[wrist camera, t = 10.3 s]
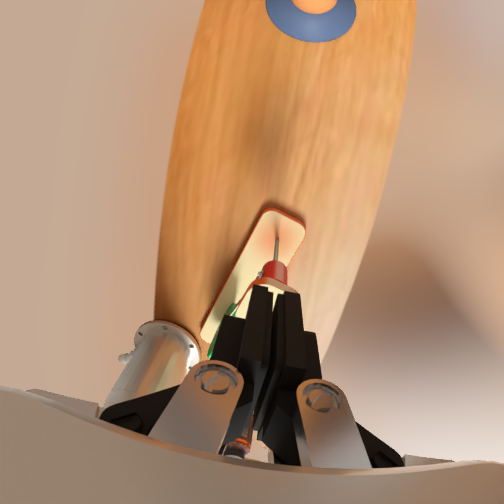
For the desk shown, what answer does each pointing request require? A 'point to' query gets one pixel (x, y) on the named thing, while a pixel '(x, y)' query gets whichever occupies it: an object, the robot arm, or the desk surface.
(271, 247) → the crank mechanism
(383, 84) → the desk surface
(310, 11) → the ball
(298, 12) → the mark
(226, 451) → the supplement bottle
